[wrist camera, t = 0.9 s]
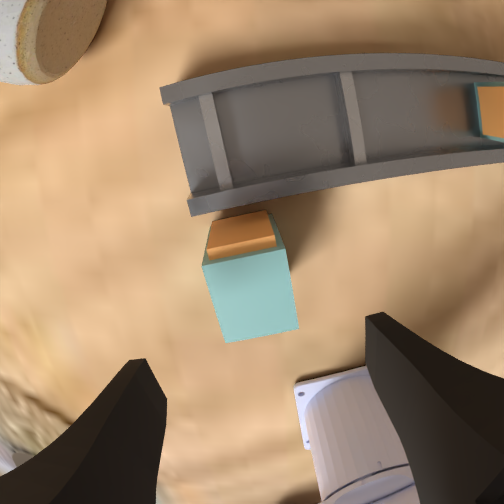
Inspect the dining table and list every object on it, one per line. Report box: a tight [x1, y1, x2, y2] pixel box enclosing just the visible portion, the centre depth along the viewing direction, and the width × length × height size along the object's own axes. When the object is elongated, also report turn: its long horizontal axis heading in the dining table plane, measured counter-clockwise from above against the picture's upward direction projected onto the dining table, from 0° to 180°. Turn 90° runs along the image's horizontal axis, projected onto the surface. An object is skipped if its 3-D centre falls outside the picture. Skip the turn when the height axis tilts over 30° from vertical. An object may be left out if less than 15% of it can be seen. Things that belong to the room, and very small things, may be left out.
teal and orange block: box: [202, 210, 299, 343], centre depth 16 cm, size 3×4×5 cm
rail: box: [160, 53, 504, 217], centre depth 14 cm, size 6×22×3 cm, turn 102°
